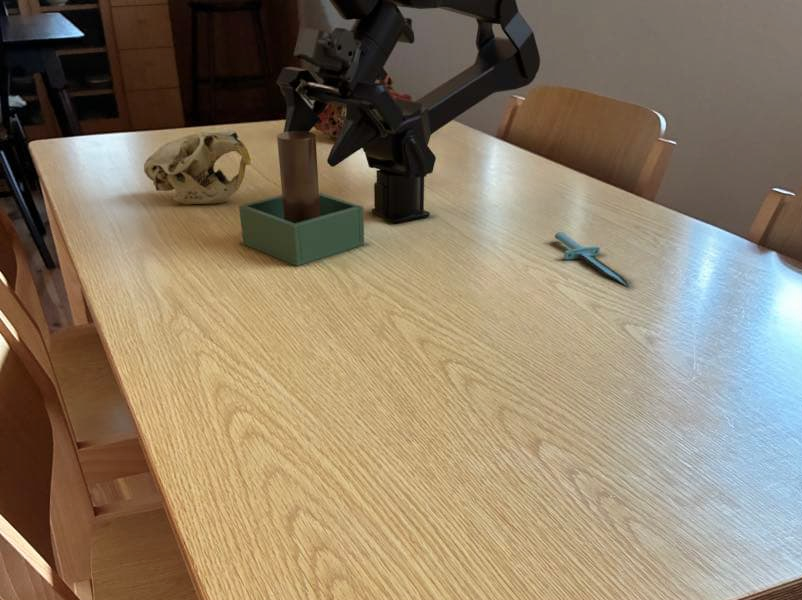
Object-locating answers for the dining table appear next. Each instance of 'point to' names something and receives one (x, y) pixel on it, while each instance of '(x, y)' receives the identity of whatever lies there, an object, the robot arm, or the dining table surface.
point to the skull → (197, 167)
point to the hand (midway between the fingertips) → (306, 157)
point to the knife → (588, 257)
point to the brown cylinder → (299, 175)
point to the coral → (336, 115)
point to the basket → (302, 229)
